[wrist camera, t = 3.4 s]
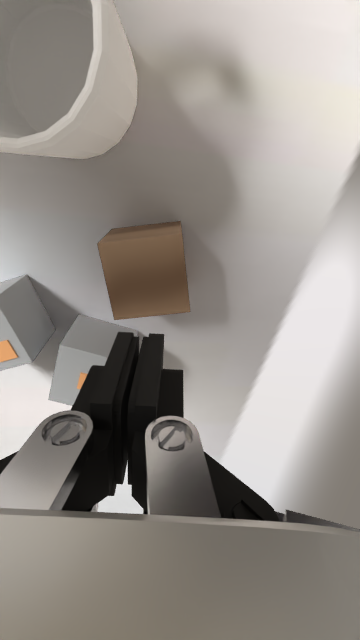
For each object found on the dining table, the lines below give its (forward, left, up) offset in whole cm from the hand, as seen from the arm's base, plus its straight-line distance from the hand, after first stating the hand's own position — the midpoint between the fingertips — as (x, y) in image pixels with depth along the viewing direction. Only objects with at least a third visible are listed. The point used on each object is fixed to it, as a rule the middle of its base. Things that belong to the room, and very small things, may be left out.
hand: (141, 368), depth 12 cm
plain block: (0, -1, -14) cm, 14 cm away
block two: (+5, -12, -14) cm, 19 cm away
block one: (+8, -5, -14) cm, 16 cm away
